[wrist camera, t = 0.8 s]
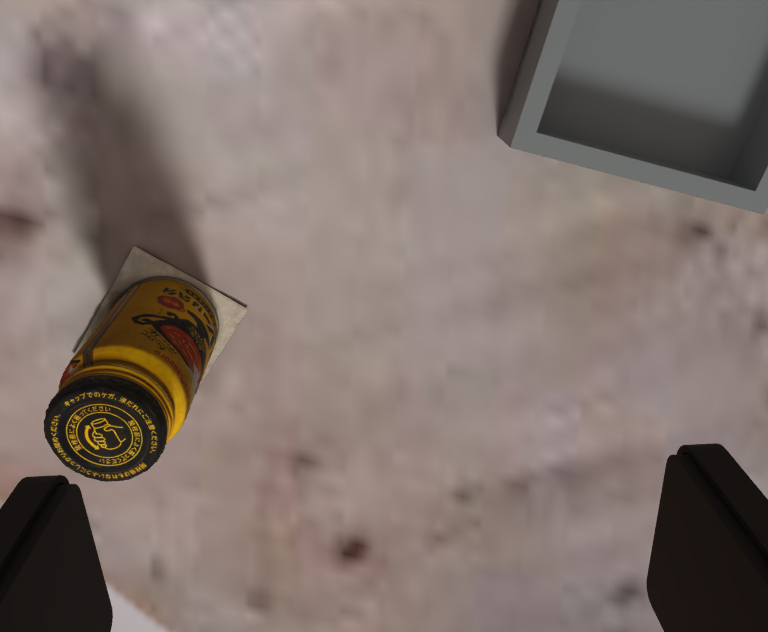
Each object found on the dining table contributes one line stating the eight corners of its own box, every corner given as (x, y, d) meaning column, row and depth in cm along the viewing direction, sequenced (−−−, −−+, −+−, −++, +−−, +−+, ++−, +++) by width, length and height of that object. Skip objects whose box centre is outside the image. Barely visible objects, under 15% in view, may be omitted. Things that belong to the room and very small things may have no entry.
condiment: (248, 307, 41) (209, 418, 30) (183, 410, 43) (124, 546, 33) (135, 243, 39) (48, 336, 28) (73, 355, 42) (-27, 480, 31)
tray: (609, -217, 31) (638, -243, 28) (880, -123, 33) (937, -137, 30) (497, 135, 37) (510, 147, 34) (730, 197, 39) (763, 214, 36)
